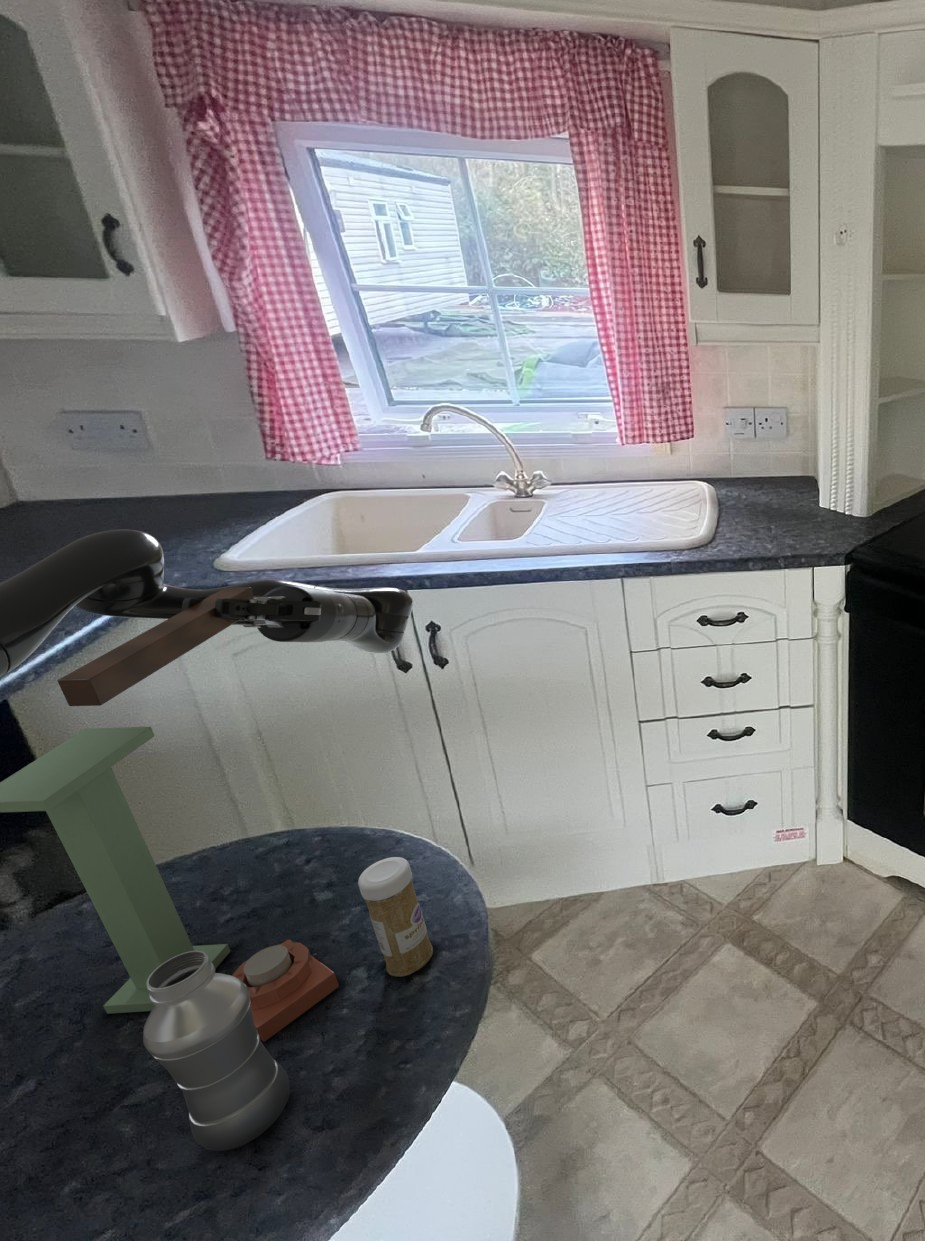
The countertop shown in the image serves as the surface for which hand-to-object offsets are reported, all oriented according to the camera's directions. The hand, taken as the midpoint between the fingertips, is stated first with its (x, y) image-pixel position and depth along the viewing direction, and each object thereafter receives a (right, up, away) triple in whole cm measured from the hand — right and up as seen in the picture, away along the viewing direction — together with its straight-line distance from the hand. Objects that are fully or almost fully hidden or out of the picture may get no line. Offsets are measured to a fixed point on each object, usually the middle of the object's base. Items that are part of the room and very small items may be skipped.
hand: (202, 607), depth 85 cm
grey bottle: (+20, -47, -16) cm, 54 cm away
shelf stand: (0, -41, -4) cm, 41 cm away
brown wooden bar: (0, -5, -4) cm, 6 cm away
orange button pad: (+13, -42, -5) cm, 44 cm away
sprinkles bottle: (+24, -41, 0) cm, 47 cm away
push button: (+13, -38, -6) cm, 41 cm away
